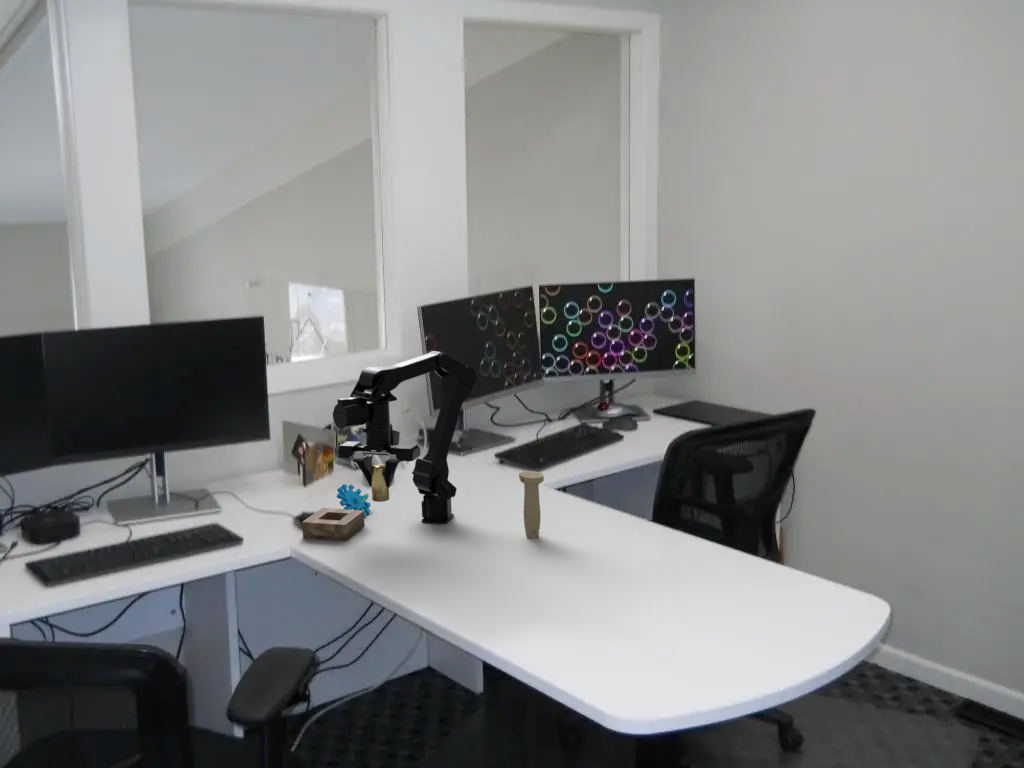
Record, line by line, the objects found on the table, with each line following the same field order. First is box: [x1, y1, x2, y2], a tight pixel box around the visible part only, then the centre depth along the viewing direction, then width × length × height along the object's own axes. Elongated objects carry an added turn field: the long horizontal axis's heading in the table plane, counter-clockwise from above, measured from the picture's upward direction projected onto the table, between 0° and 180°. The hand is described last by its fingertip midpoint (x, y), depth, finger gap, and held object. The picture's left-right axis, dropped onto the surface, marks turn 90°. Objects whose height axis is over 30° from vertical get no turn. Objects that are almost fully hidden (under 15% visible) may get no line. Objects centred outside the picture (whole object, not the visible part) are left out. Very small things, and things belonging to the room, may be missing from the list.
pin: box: [371, 463, 390, 503], centre depth 235 cm, size 4×4×8 cm
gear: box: [336, 483, 371, 518], centre depth 254 cm, size 11×6×10 cm
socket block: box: [301, 507, 365, 542], centre depth 240 cm, size 11×11×4 cm
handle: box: [518, 470, 545, 539], centre depth 233 cm, size 5×6×15 cm
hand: (380, 486), depth 235 cm, fingers closed on pin, 4 cm apart
